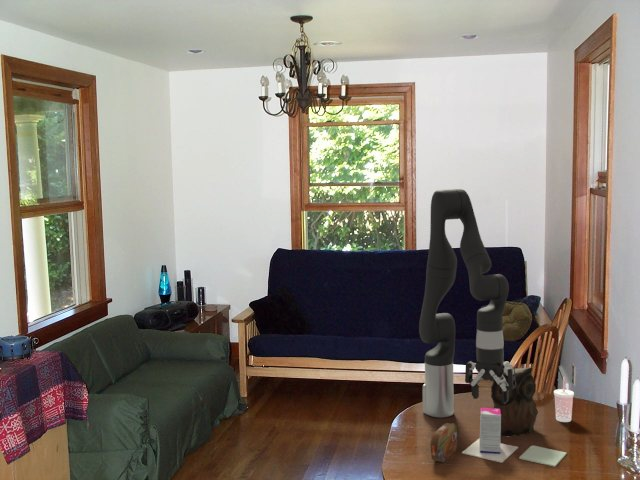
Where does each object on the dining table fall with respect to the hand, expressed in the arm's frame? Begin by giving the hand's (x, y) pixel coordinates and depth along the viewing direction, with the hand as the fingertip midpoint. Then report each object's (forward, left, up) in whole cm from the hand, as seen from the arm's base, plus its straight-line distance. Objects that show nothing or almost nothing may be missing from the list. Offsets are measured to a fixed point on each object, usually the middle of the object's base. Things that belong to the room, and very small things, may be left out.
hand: (490, 400), depth 209 cm
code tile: (0, 0, -15) cm, 15 cm away
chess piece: (-10, +40, -15) cm, 44 cm away
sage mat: (+14, +4, -15) cm, 21 cm away
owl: (-1, +19, -15) cm, 24 cm away
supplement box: (0, 0, -15) cm, 15 cm away
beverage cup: (+10, +35, -15) cm, 39 cm away
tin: (-10, -10, -15) cm, 21 cm away
